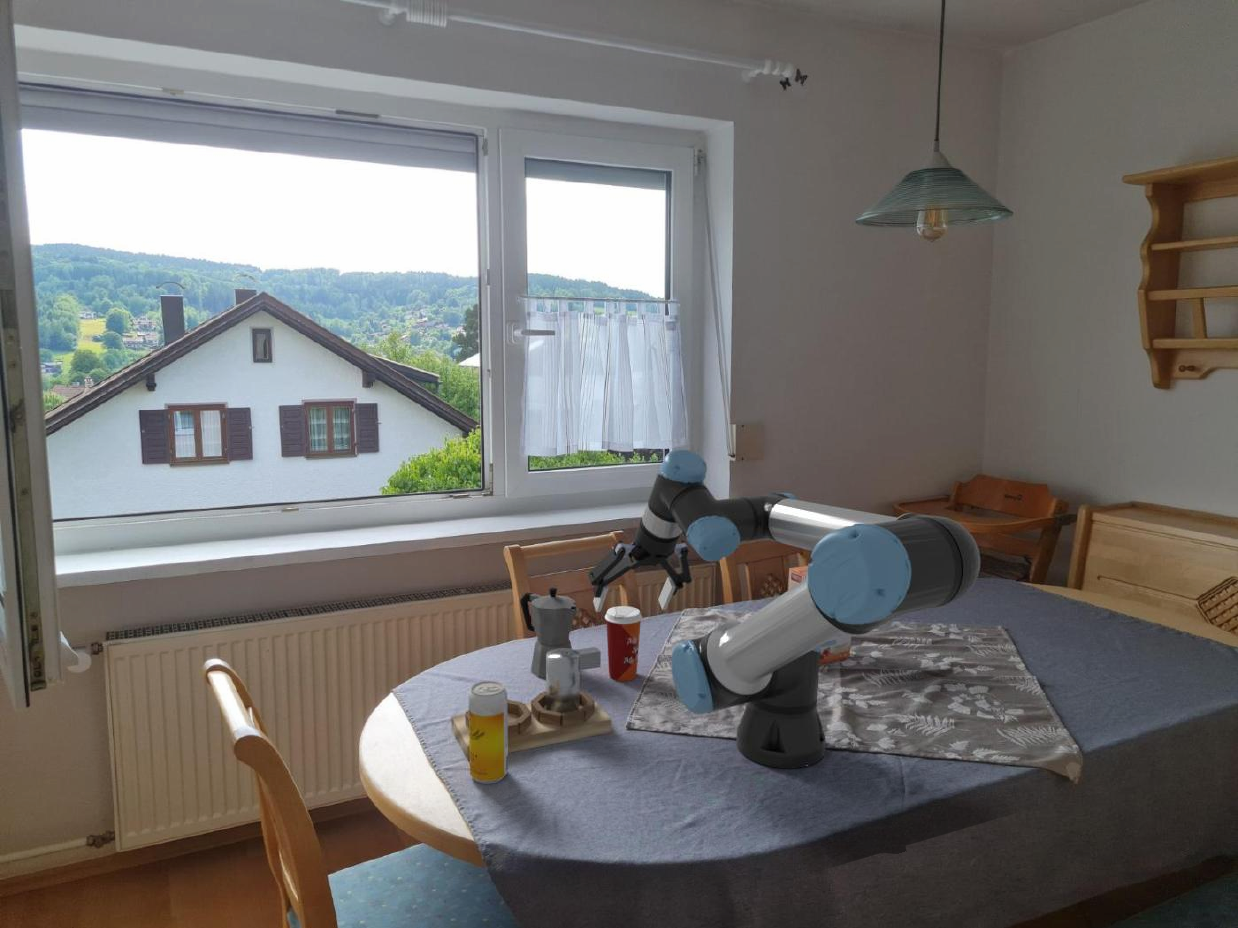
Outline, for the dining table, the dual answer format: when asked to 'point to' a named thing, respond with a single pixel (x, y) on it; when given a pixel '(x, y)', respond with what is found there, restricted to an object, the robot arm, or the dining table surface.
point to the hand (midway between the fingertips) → (629, 605)
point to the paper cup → (623, 642)
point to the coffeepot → (548, 625)
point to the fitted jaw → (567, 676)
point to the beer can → (488, 732)
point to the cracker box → (834, 647)
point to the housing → (541, 724)
